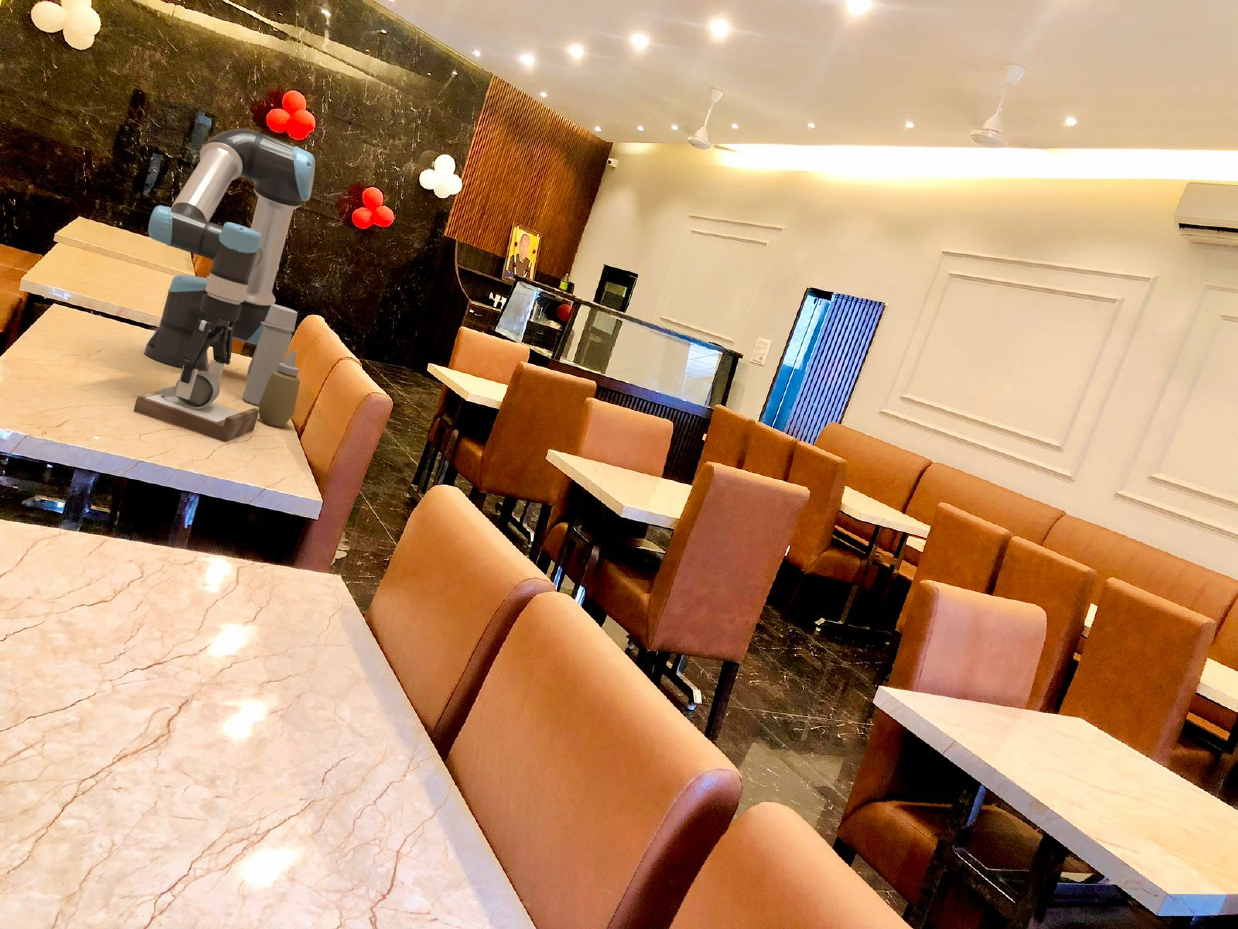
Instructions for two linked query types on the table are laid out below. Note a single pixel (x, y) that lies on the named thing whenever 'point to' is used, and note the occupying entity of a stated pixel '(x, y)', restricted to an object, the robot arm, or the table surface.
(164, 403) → the mat
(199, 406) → the ceramic mug
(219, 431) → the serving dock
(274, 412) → the squeeze bottle
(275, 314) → the water bottle
